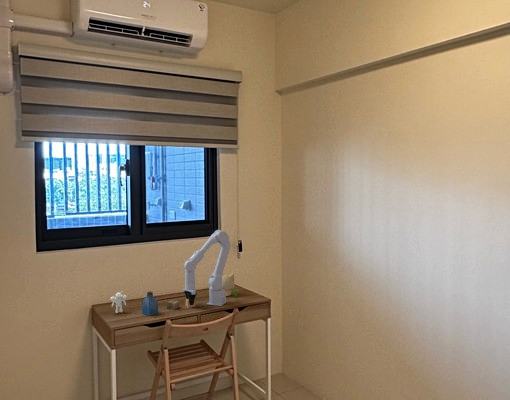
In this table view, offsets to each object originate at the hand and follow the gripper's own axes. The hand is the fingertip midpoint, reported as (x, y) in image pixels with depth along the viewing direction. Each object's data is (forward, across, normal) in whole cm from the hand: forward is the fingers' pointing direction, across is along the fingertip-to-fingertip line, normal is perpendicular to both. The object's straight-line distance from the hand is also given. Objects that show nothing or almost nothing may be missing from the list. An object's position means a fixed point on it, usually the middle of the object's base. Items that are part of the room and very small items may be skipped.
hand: (190, 303), depth 276 cm
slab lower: (+2, 0, -10) cm, 10 cm away
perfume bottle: (+2, +4, -24) cm, 25 cm away
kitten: (+2, -13, +28) cm, 31 cm away
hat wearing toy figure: (+2, -6, -40) cm, 40 cm away
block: (+1, 0, 0) cm, 1 cm away
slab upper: (0, 0, -10) cm, 10 cm away
